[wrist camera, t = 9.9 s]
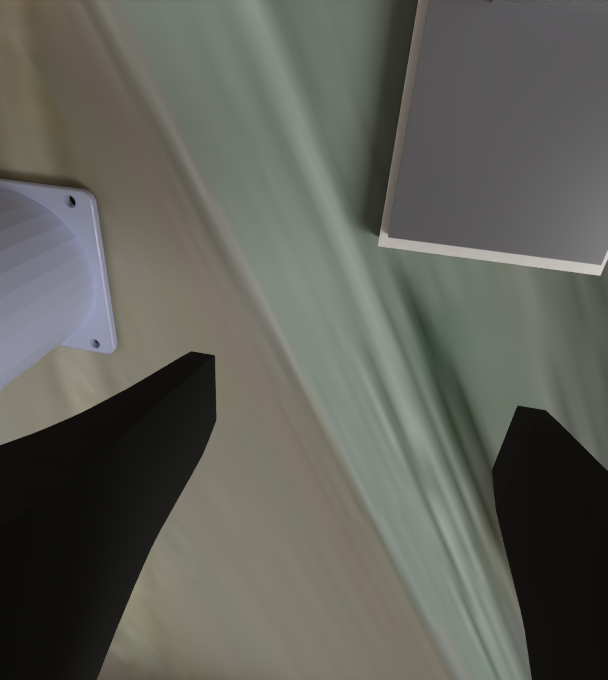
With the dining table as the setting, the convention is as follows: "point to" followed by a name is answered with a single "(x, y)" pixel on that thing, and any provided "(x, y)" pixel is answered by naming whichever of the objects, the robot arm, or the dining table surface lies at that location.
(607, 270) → the dining table surface
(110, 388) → the dining table surface
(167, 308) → the dining table surface
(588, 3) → the block
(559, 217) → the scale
